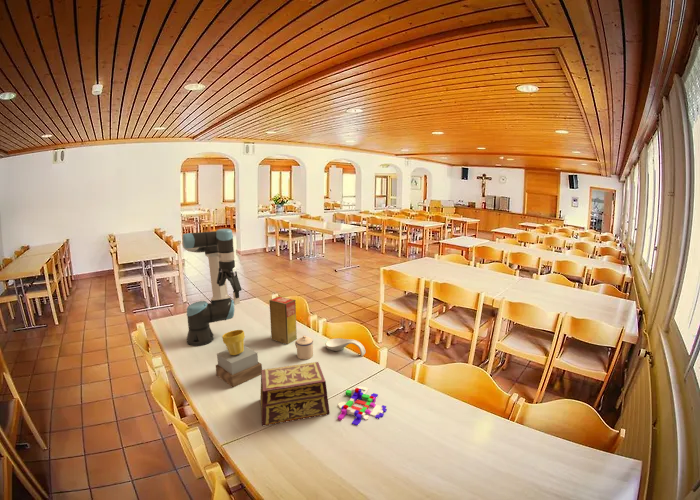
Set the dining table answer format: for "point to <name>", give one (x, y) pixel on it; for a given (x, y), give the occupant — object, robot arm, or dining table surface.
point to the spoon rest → (343, 344)
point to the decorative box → (293, 393)
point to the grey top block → (237, 360)
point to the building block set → (357, 411)
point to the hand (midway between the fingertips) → (229, 300)
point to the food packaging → (283, 320)
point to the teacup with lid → (304, 348)
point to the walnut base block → (239, 375)
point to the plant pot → (234, 341)
